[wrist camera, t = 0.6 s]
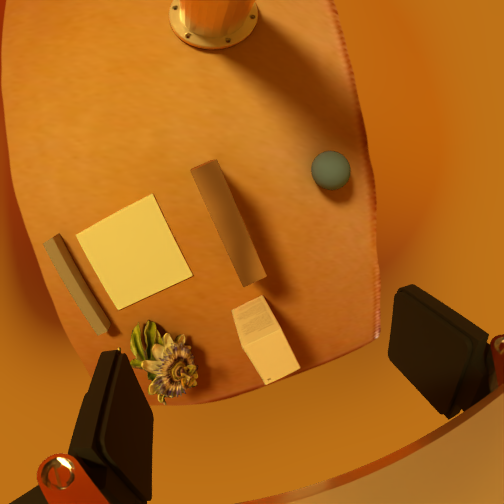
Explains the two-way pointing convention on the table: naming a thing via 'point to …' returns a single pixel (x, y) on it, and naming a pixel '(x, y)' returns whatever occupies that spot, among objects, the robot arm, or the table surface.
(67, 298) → the table surface
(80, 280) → the grey square bar
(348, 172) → the ball
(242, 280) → the bridge
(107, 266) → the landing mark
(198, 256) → the table surface
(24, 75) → the table surface
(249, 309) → the small box
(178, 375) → the passion flower
